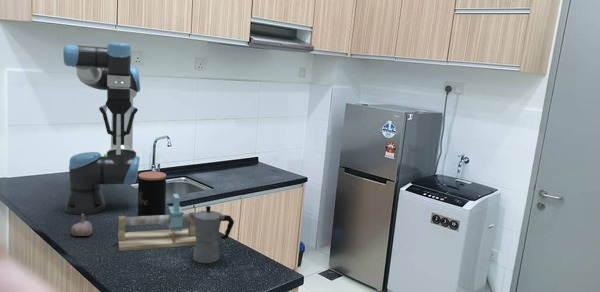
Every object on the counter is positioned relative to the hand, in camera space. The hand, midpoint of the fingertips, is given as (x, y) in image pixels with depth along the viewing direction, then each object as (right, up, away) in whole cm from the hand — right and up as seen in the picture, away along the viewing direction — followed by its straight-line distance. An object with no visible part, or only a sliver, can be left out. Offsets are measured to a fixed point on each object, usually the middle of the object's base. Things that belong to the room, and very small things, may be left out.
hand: (118, 153), depth 168 cm
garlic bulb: (-13, -29, 0) cm, 32 cm away
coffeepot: (+35, -35, -11) cm, 51 cm away
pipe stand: (+14, -31, -1) cm, 34 cm away
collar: (+20, -27, +1) cm, 34 cm away
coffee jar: (+5, -27, +22) cm, 35 cm away
